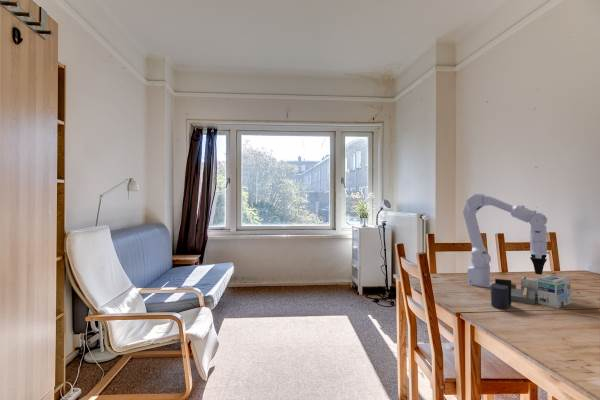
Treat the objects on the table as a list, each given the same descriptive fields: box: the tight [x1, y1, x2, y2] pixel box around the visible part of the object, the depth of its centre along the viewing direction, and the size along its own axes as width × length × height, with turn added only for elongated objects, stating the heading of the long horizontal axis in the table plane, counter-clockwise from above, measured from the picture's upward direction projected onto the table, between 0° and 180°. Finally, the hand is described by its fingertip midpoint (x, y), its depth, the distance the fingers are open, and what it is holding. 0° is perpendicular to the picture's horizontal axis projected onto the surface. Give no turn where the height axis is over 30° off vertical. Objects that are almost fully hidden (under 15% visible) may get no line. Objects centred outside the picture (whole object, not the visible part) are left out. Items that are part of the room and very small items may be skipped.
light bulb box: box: [537, 274, 572, 309], centre depth 125 cm, size 11×7×11 cm, turn 118°
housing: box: [520, 276, 538, 295], centre depth 139 cm, size 8×5×6 cm, turn 53°
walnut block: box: [511, 281, 517, 289], centre depth 144 cm, size 4×4×3 cm
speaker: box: [490, 278, 512, 310], centre depth 124 cm, size 8×6×10 cm
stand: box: [511, 288, 536, 305], centre depth 134 cm, size 14×12×4 cm
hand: (538, 272), depth 139 cm, fingers open, 7 cm apart
